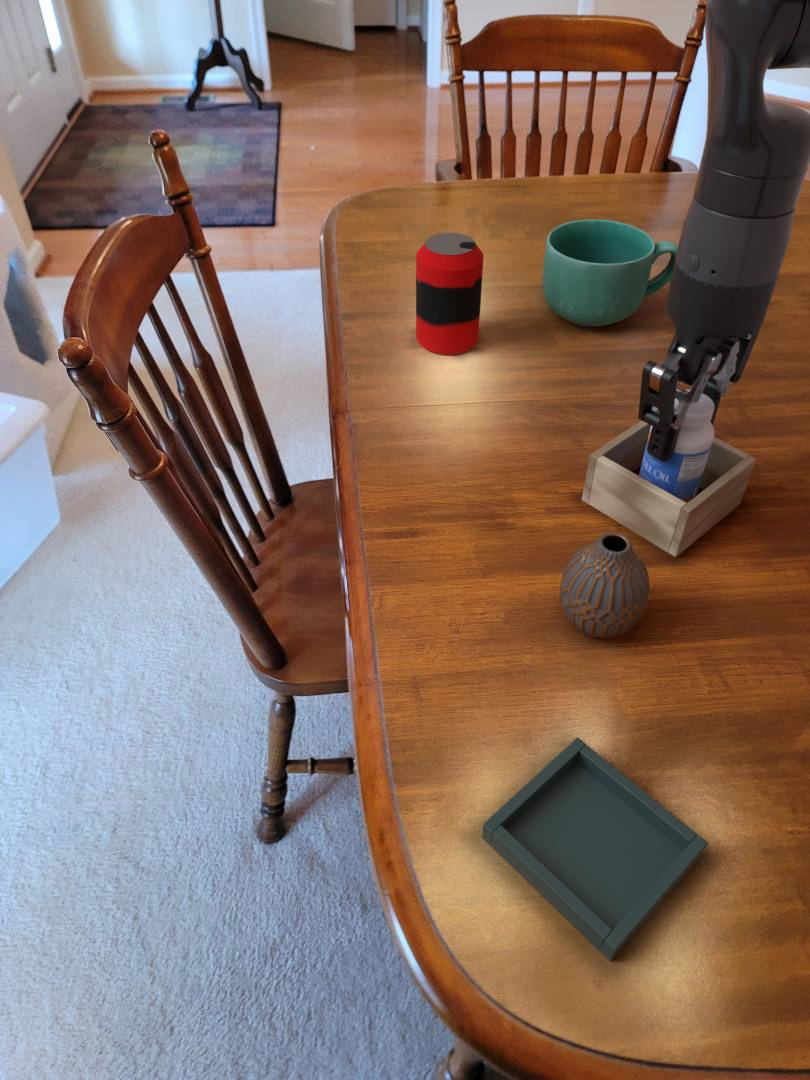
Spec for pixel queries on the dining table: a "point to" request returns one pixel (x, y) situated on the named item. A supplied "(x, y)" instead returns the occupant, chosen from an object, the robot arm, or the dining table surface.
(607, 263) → the mug
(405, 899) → the dining table surface
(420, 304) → the soda can
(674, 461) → the pill bottle
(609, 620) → the vase
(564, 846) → the tray
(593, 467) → the crate
